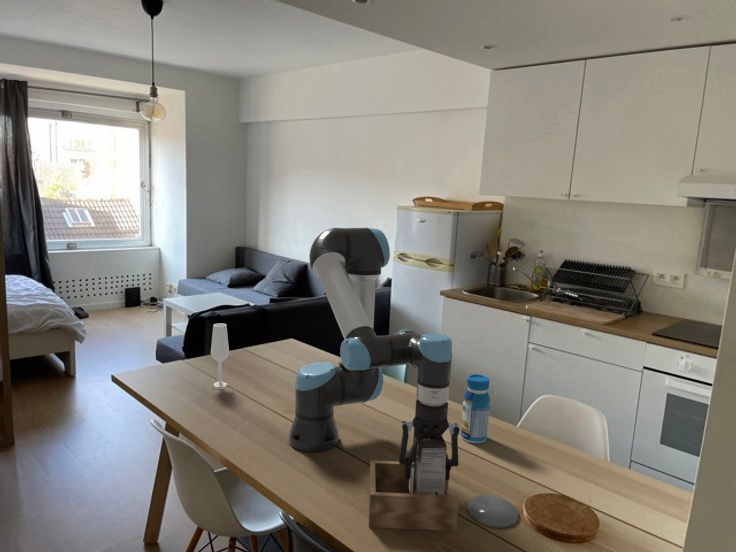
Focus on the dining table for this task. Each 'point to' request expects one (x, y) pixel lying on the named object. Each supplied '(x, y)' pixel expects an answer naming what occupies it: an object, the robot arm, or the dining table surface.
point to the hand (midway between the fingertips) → (426, 490)
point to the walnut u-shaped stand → (406, 502)
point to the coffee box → (429, 466)
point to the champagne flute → (219, 349)
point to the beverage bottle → (476, 409)
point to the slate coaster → (492, 511)
